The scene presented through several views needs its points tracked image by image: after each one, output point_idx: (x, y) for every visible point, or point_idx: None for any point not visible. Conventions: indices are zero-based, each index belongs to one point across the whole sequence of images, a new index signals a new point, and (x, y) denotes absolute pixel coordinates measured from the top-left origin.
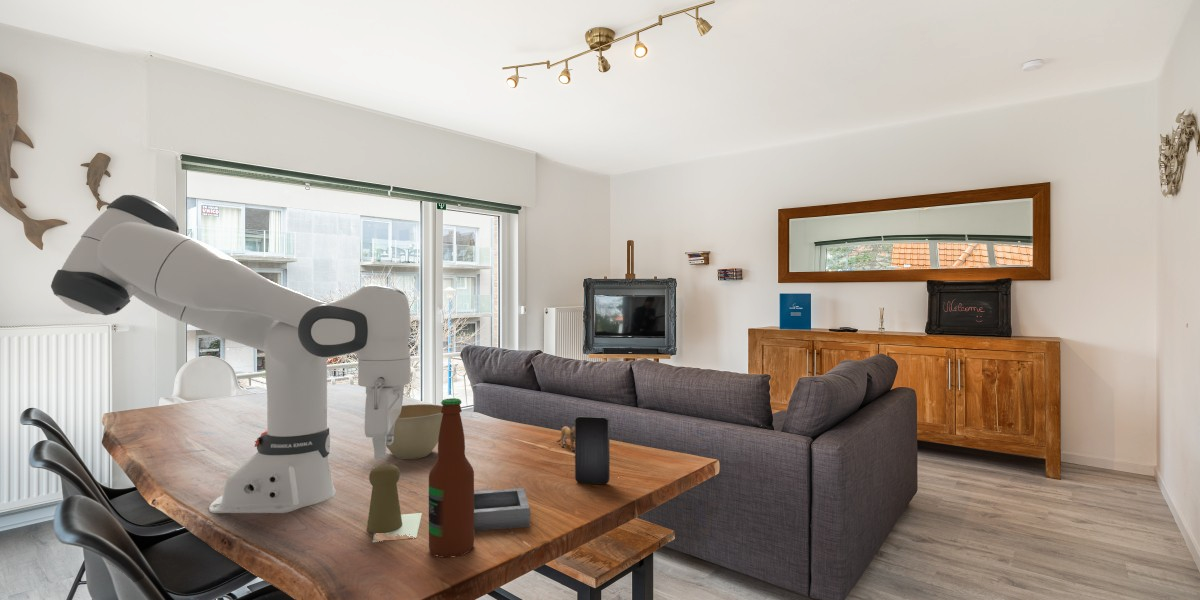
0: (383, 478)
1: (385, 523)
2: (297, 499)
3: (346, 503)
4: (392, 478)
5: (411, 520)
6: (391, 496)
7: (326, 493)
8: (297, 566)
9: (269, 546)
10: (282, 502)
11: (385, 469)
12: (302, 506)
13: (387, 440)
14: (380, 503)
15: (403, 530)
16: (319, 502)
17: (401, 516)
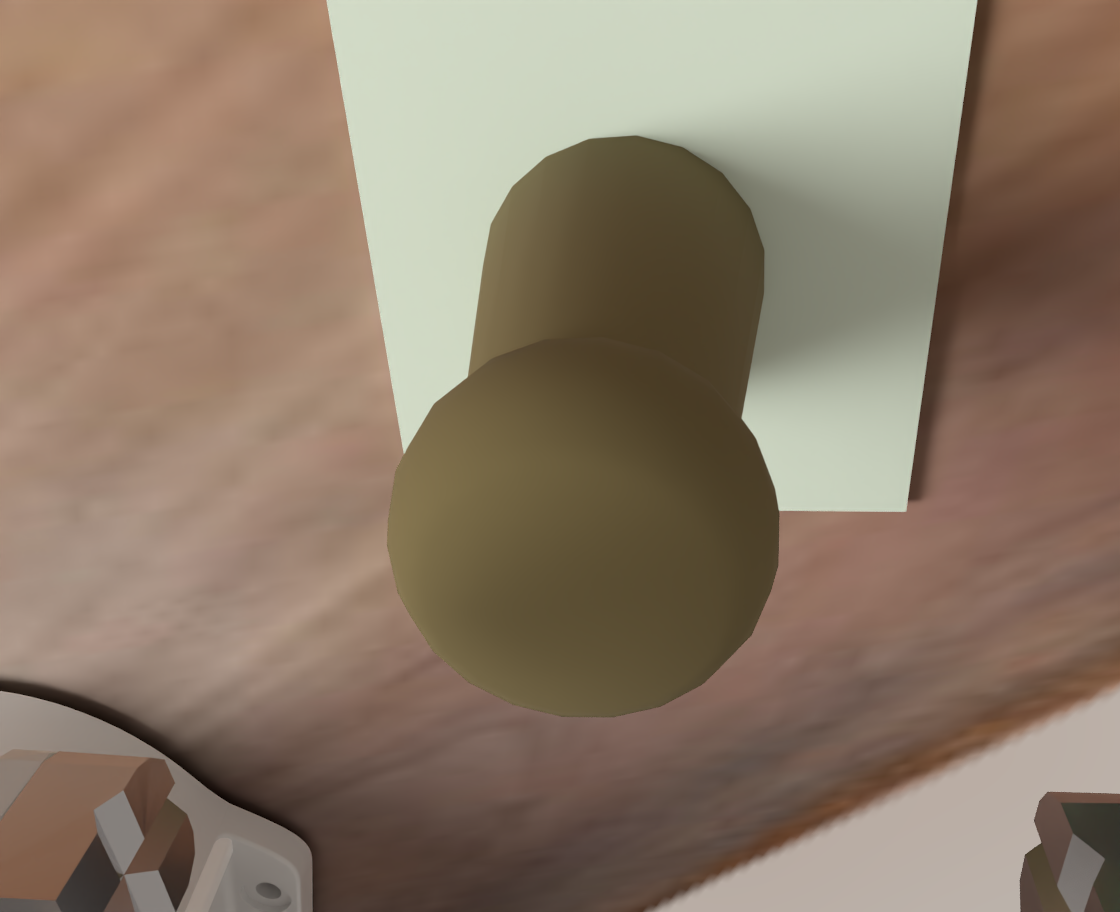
0: (778, 535)
1: (758, 281)
2: (211, 864)
3: (93, 599)
4: (733, 426)
5: (517, 63)
6: (708, 332)
7: (45, 746)
8: (1103, 670)
9: (745, 825)
10: (223, 904)
11: (702, 584)
12: (212, 804)
13: (124, 873)
14: (743, 406)
15: (746, 103)
16: (130, 740)
17: (406, 174)
